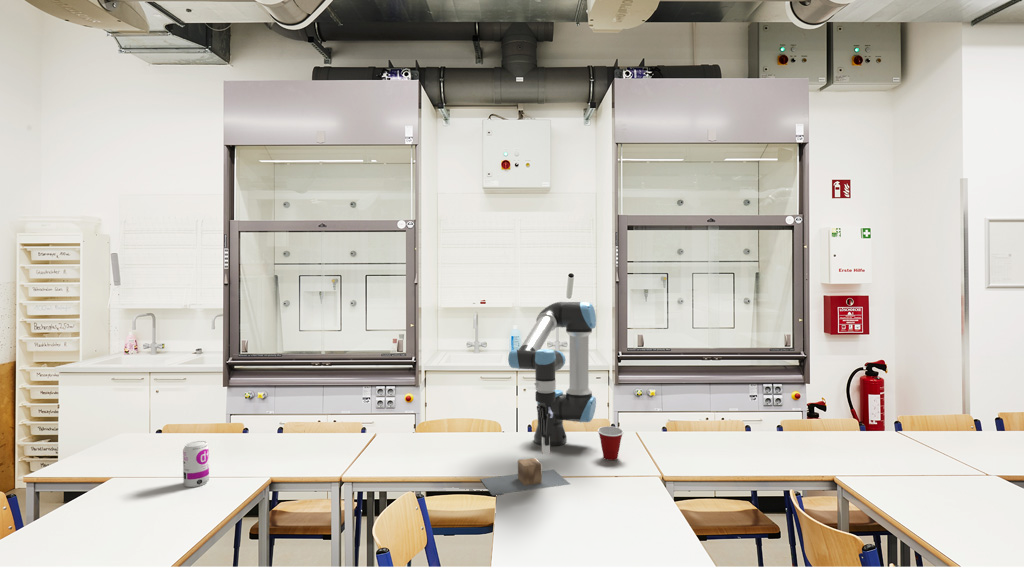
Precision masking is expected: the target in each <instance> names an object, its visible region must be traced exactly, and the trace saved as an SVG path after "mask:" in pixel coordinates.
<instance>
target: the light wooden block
mask: <svg viewBox="0 0 1024 568" xmlns="http://www.w3.org/2000/svg"><path fill="white" fill-rule="evenodd" d="M542 471H543V464H542V462H540V461H539V460H538V459H537V458H536V457H534V458H524V459H518V460H517V474H518V479H519V480H520V481H521V482H522V483H523V485H530V484H537V483H542Z"/></svg>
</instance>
